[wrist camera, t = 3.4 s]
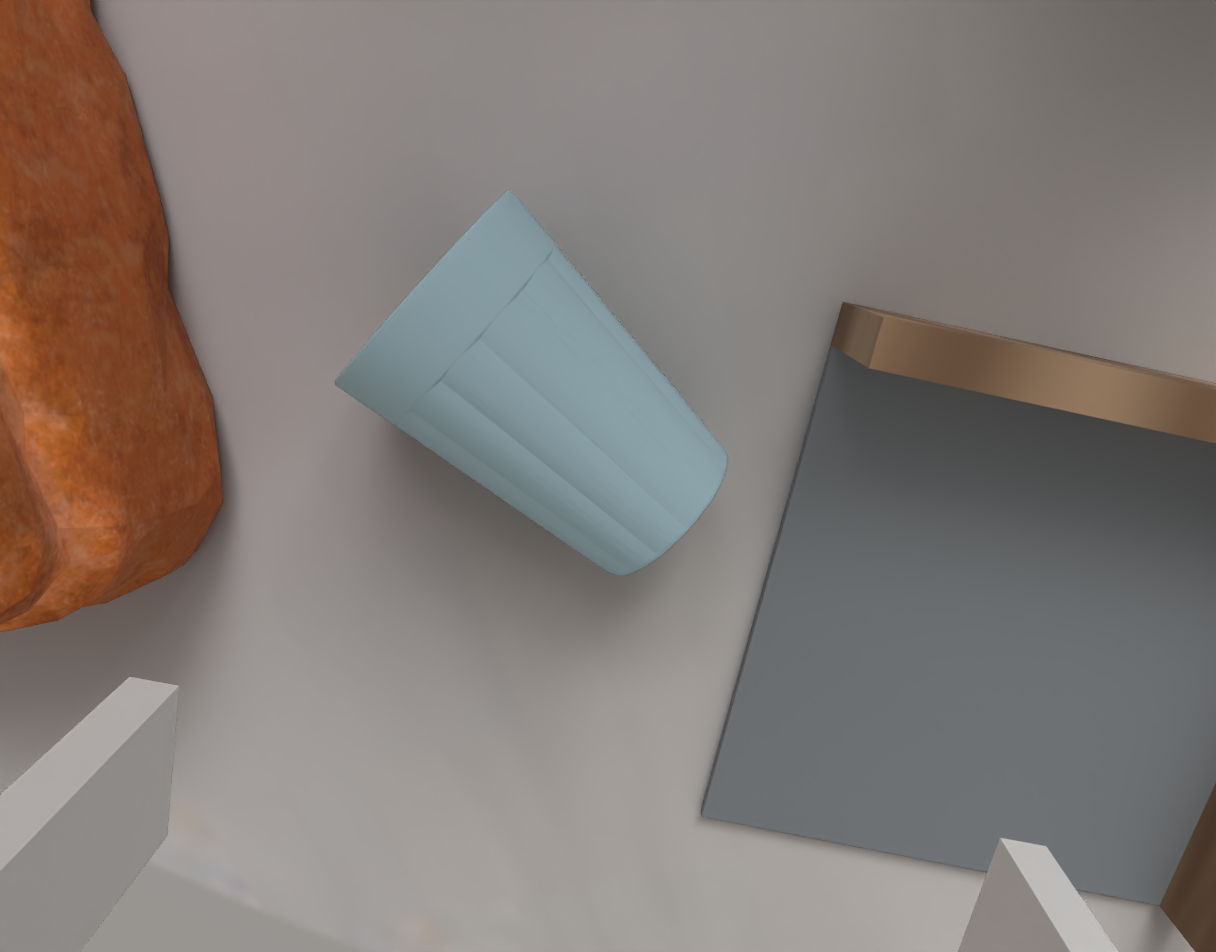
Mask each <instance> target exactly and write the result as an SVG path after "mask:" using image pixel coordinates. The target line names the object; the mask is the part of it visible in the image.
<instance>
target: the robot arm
mask: <svg viewBox="0 0 1216 952" xmlns="http://www.w3.org/2000/svg"><path fill="white" fill-rule="evenodd" d="M178 695H179V686H178V685H172V684H167V683H161V682H156V681H151V680H145V679H140V678H134V677H129V678H128V679H126V680H125V681H124V682H123V683H122V684H121V685H120V686H119V687H118V688H117V689H116V690H114V691H113V692H112V693H111V694H110V695H109V696H108V697H107V698H106V699H105V700H103V701H102V702H101V703H100V704H99V705H98V706H97V707H96V708H95V709H94V710H93V711H91V712H90V713H89V714H88V715H87V716H86V717H85V718H84V719H83V720H82V721H80V722H79V723H78V724H77V725H76V726H75V727H74V728H73V729H72V730H71V731H69V732H68V733H67V734H66V735H65V736H64V737H63V738H62V739H61V740H60V741H59V742H57V743H56V744H55V745H54V746H53V747H52V748H51V749H50V750H49V751H48V752H46V753H45V754H44V755H43V756H42V757H41V758H40V759H39V760H38V761H37V762H36V763H34V764H33V765H32V766H31V767H30V768H29V769H28V770H27V771H26V772H25V773H23V774H22V775H21V776H20V777H19V778H18V779H17V780H16V781H15V782H14V783H12V784H11V785H10V786H9V787H8V788H7V789H6V790H5V791H4V792H3V793H2V794H0V952H81V950H82V949H83V948H84V946H85V945H86V943H87V942H88V941H89V940H90V938H91V937H92V936H93V934H94V933H95V932H96V930H97V929H98V928H99V926H100V925H101V924H102V922H103V921H104V919H105V918H106V917H107V916H108V914H109V913H110V912H111V910H112V909H113V908H114V906H115V905H116V904H117V902H118V901H119V900H120V898H121V897H122V896H123V894H124V893H125V892H126V890H127V889H128V888H129V886H130V885H131V884H132V882H133V881H134V880H135V878H136V877H137V876H138V874H139V873H140V871H141V870H142V869H143V868H144V866H145V865H146V864H147V862H148V861H149V860H150V858H151V857H152V856H153V854H154V853H155V852H156V850H157V849H158V848H159V846H160V845H161V844H162V842H163V841H164V840H165V838H166V837H167V833H168V821H169V808H170V795H171V783H172V770H173V758H174V745H175V733H176V720H177V708H178ZM958 952H1118V951H1117V949H1116V948H1115V946H1114V945H1113V944H1112V942H1111V941H1110V939H1109V938H1108V936H1107V935H1106V933H1105V932H1104V930H1103V929H1102V927H1101V926H1100V924H1099V923H1098V921H1097V920H1096V919H1095V917H1094V916H1093V914H1092V913H1091V911H1090V910H1089V908H1088V907H1087V905H1086V904H1085V902H1084V901H1083V899H1082V898H1081V896H1080V895H1079V894H1078V892H1077V891H1076V889H1075V888H1074V886H1073V885H1072V883H1071V882H1070V880H1069V879H1068V877H1067V876H1066V874H1065V873H1064V872H1063V870H1062V869H1061V867H1060V866H1059V864H1058V863H1057V861H1056V860H1055V858H1054V857H1053V855H1052V854H1051V852H1050V851H1049V849H1048V848H1047V847H1046V846H1042V845H1037V844H1031V843H1026V842H1021V841H1015V840H1010V839H1004V838H1000V839H999V842H998V845H997V847H996V850H995V853H994V855H993V858H992V861H991V864H990V866H989V869H988V872H987V874H986V877H985V880H984V883H983V885H982V888H981V891H980V893H979V896H978V899H977V901H976V904H975V907H974V910H973V912H972V915H971V918H970V920H969V923H968V926H967V928H966V931H965V934H964V937H963V939H962V942H961V945H960V947H959V950H958Z"/></svg>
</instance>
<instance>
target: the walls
mask: <svg viewBox="0 0 1216 952" xmlns="http://www.w3.org/2000/svg"><path fill="white" fill-rule="evenodd" d="M831 346H833V347H835V348H836V349H838V350H840V351H841V352H843V353H845V354H846V355H848V356H849V357H851V358H853V359H854V360H856V361H858V362H859V363H861V364H863V365H864V366H866V367H868V368H870V369H875V370H879V371H884V372H888V373H893V374H898V375H902V376H907V377H912V378H916V379H921V380H925V381H930V382H935V383H939V384H944V385H949V386H953V387H958V388H962V389H967V390H972V391H976V392H981V393H986V394H990V395H995V396H999V397H1004V398H1009V399H1013V400H1018V401H1022V402H1027V403H1032V404H1036V405H1041V406H1046V407H1050V408H1055V409H1059V410H1064V411H1069V412H1073V413H1078V414H1083V415H1087V416H1092V417H1096V418H1101V419H1106V420H1110V421H1115V422H1120V423H1124V424H1129V425H1133V426H1138V427H1143V428H1147V429H1152V430H1156V431H1161V432H1166V433H1170V434H1175V435H1180V436H1184V437H1189V438H1193V439H1198V440H1203V441H1207V442H1212V443H1216V384H1215V383H1211V382H1206V381H1202V380H1197V379H1193V378H1188V377H1183V376H1179V375H1174V374H1170V373H1165V372H1161V371H1156V370H1152V369H1147V368H1142V367H1138V366H1133V365H1129V364H1124V363H1120V362H1115V361H1110V360H1106V359H1101V358H1097V357H1092V356H1088V355H1083V354H1079V353H1074V352H1069V351H1065V350H1060V349H1056V348H1051V347H1047V346H1042V345H1037V344H1033V343H1028V342H1024V341H1019V340H1015V339H1010V338H1006V337H1001V336H996V335H992V334H987V333H983V332H978V331H974V330H969V329H964V328H960V327H955V326H951V325H946V324H942V323H937V322H933V321H928V320H923V319H919V318H914V317H910V316H905V315H901V314H896V313H891V312H887V311H882V310H878V309H873V308H869V307H864V306H860V305H855V304H850V303H846V302H843V304H842V308H841V311H840V315H839V318H838V322H837V326H836V329H835V333H834V336H833V340H832V344H831ZM1160 907H1161V908H1162V909H1163V911H1164V912H1165V913H1166V915H1167V916H1168V917H1169V918H1170V920H1171V921H1172V922H1173V924H1174V925H1175V926H1176V927H1177V929H1178V930H1179V931H1180V933H1181V934H1182V935H1183V936H1184V938H1185V939H1186V940H1187V942H1188V943H1189V944H1190V945H1191V947H1192V948H1193V949H1194V950H1195V952H1216V783H1215V786H1214V788H1213V790H1212V792H1211V794H1210V797H1209V799H1208V801H1207V803H1206V805H1205V807H1204V810H1203V812H1202V814H1201V816H1200V818H1199V821H1198V823H1197V825H1196V827H1195V829H1194V831H1193V834H1192V836H1191V838H1190V840H1189V842H1188V845H1187V847H1186V849H1185V851H1184V853H1183V855H1182V858H1181V860H1180V862H1179V864H1178V866H1177V869H1176V871H1175V873H1174V875H1173V877H1172V880H1171V882H1170V884H1169V886H1168V888H1167V890H1166V893H1165V895H1164V897H1163V899H1162V901H1161V904H1160Z"/></svg>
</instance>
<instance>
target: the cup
mask: <svg viewBox="0 0 1216 952" xmlns="http://www.w3.org/2000/svg"><path fill="white" fill-rule="evenodd" d="M335 385H337V386H338V387H339V388H341V389H342V390H344V391H345V392H346V393H348V394H349V395H351V396H352V397H354V398H355V399H357V400H358V401H360V402H361V403H362V404H364V405H365V406H367V407H368V408H370V409H371V410H373V411H374V412H376V413H377V414H378V415H380V416H381V417H383V418H384V419H386V420H387V421H389V422H390V423H392V424H394V425H395V426H397V427H398V428H400V429H401V430H403V431H404V432H405V433H407V434H408V435H410V436H411V437H413V438H414V439H416V440H417V441H418V442H420V443H421V444H423V445H424V446H426V447H427V448H429V449H430V450H431V451H433V452H434V453H436V454H437V455H439V456H440V457H442V458H443V459H444V460H446V461H447V462H449V463H450V464H452V465H453V466H455V467H456V468H458V469H459V470H460V471H462V472H463V473H465V474H466V475H468V476H469V477H471V478H472V479H473V480H475V481H476V482H478V483H479V484H481V485H482V486H484V487H485V488H486V489H488V490H489V491H491V492H492V493H494V494H495V495H497V496H498V497H500V498H501V499H502V500H504V501H505V502H507V503H508V504H510V505H511V506H513V507H514V508H515V509H517V510H518V511H520V512H521V513H523V514H524V515H526V516H527V517H528V518H530V519H531V520H533V521H534V522H536V523H537V524H539V525H540V526H541V527H543V528H544V529H546V530H547V531H549V532H550V533H552V534H553V535H555V536H556V537H557V538H559V539H560V540H562V541H563V542H565V543H566V544H568V545H569V546H570V547H572V548H573V549H575V550H576V551H578V552H579V553H581V554H582V555H584V556H585V557H586V558H588V559H589V560H591V561H592V562H594V563H595V564H597V565H598V566H600V567H601V568H603V569H604V570H606V571H608V572H609V573H612V574H615V575H619V576H621V575H627V574H630V573H633V572H635V571H637V570H639V569H641V568H643V567H645V566H647V565H648V564H650V563H651V562H653V561H654V560H656V559H657V558H659V557H660V556H661V555H662V554H664V553H665V552H666V551H667V550H668V549H669V548H670V547H672V546H673V545H674V544H675V543H676V542H677V541H678V540H679V539H680V538H681V537H682V536H683V535H684V534H685V533H686V532H687V531H688V530H689V529H690V528H691V526H692V525H693V524H694V523H695V522H696V520H697V519H698V518H699V517H700V516H701V514H702V513H703V512H704V510H705V509H706V508H707V506H708V505H709V504H710V502H711V501H712V499H713V497H714V496H715V494H716V493H717V491H718V489H719V487H720V485H721V483H722V481H723V478H724V475H725V472H726V469H727V463H728V455H727V453H726V451H725V450H724V448H723V447H722V445H721V444H720V443H719V442H718V440H717V439H716V438H715V437H714V436H713V434H712V433H711V432H710V431H709V429H708V428H707V427H706V426H705V425H704V423H703V422H702V421H701V420H700V418H699V417H698V416H697V415H696V414H695V412H694V411H693V410H692V409H691V407H690V406H689V405H688V404H687V403H686V401H685V400H684V399H683V398H682V397H681V395H680V394H679V393H678V392H677V391H676V389H675V388H674V387H673V386H672V385H671V383H670V382H669V381H668V380H667V379H666V377H665V376H664V375H663V374H662V373H661V371H660V370H659V369H658V368H657V367H656V365H655V364H654V363H653V362H652V361H651V359H650V358H649V357H648V356H647V355H646V353H645V352H644V351H643V350H642V349H641V347H640V346H639V345H638V344H637V343H636V341H635V340H634V339H633V338H632V337H631V335H630V334H629V333H628V332H627V331H626V329H625V328H624V327H623V326H622V325H621V323H620V322H619V321H618V320H617V319H616V317H615V316H614V315H613V314H612V313H611V311H610V310H609V309H608V308H607V307H606V305H605V304H604V303H603V302H602V300H601V299H600V298H599V297H598V296H597V294H596V293H595V292H594V291H593V290H592V288H591V287H590V286H589V285H588V284H587V282H586V281H585V280H584V279H583V278H582V276H581V275H580V274H579V273H578V272H577V270H576V269H575V268H574V267H573V266H572V264H571V263H570V262H569V261H568V260H567V258H566V257H565V256H564V255H563V254H562V252H561V251H560V250H559V249H558V248H557V246H556V244H555V242H554V241H553V240H552V238H551V237H550V236H549V235H548V233H547V232H546V231H545V230H544V229H543V227H542V226H541V225H540V224H539V223H538V221H537V220H536V219H535V218H534V217H533V215H532V214H531V213H530V212H529V210H528V209H527V208H526V207H525V206H524V204H523V203H522V202H521V201H520V200H519V198H518V197H517V196H516V195H515V194H514V192H513V191H511V190H508V191H506V192H505V193H504V194H503V195H502V196H501V197H500V198H498V199H497V200H496V201H495V202H494V203H493V204H492V205H491V206H490V207H489V208H488V209H487V210H486V212H485V213H484V214H483V215H482V216H481V217H480V218H479V219H478V220H477V221H476V222H475V223H474V224H473V225H472V226H471V227H470V228H469V229H468V230H467V231H466V232H465V234H464V235H463V236H462V237H461V238H460V239H459V240H458V241H457V242H456V243H455V244H454V245H453V246H452V247H451V249H450V250H449V251H448V252H447V253H446V254H445V255H444V256H443V257H442V258H441V259H440V260H439V261H438V263H437V264H436V265H435V266H434V267H433V268H432V269H431V270H430V271H429V272H428V274H427V275H426V276H425V277H424V278H423V279H422V280H421V281H420V282H419V283H418V285H417V286H416V287H415V288H414V289H413V290H412V291H411V292H410V293H409V294H408V296H407V297H406V298H405V299H404V300H403V301H402V302H401V303H400V305H399V306H398V307H397V308H396V309H395V310H394V311H393V312H392V314H391V315H390V316H389V317H388V318H387V319H386V320H385V321H384V323H383V324H382V325H381V326H380V327H379V328H378V329H377V331H376V332H375V333H374V334H373V335H372V336H371V337H370V339H369V340H368V341H367V342H366V343H365V344H364V345H363V347H362V348H361V349H360V350H359V351H358V352H357V354H356V355H355V356H354V357H353V358H352V360H351V361H350V362H349V363H348V364H347V366H346V367H345V368H344V369H343V371H342V372H341V373H340V374H339V376H338V377H337V379H336V380H335Z"/></svg>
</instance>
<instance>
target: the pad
mask: <svg viewBox="0 0 1216 952" xmlns="http://www.w3.org/2000/svg"><path fill="white" fill-rule="evenodd" d="M1215 783H1216V443H1212V442H1207V441H1203V440H1198V439H1193V438H1189V437H1184V436H1180V435H1175V434H1170V433H1166V432H1161V431H1156V430H1152V429H1147V428H1143V427H1138V426H1133V425H1129V424H1124V423H1120V422H1115V421H1110V420H1106V419H1101V418H1096V417H1092V416H1087V415H1083V414H1078V413H1073V412H1069V411H1064V410H1059V409H1055V408H1050V407H1046V406H1041V405H1036V404H1032V403H1027V402H1022V401H1018V400H1013V399H1009V398H1004V397H999V396H995V395H990V394H986V393H981V392H976V391H972V390H967V389H962V388H958V387H953V386H949V385H944V384H939V383H935V382H930V381H925V380H921V379H916V378H912V377H907V376H902V375H898V374H893V373H888V372H884V371H879V370H875V369H870V368H868V367H866V366H864V365H863V364H861V363H859V362H858V361H856V360H854V359H853V358H851V357H849V356H848V355H846V354H845V353H843V352H841V351H840V350H838V349H836V348H835V347H833V346H831V347H830V351H829V354H828V358H827V361H826V365H825V369H824V372H823V376H822V379H821V383H820V386H819V390H818V394H817V397H816V401H815V404H814V408H813V411H812V415H811V419H810V422H809V426H808V429H807V433H806V436H805V440H804V444H803V447H802V451H801V454H800V458H799V461H798V465H797V469H796V472H795V476H794V479H793V483H792V486H791V490H790V494H789V497H788V501H787V504H786V508H785V511H784V515H783V519H782V522H781V526H780V529H779V533H778V536H777V540H776V544H775V547H774V551H773V554H772V558H771V561H770V565H769V569H768V572H767V576H766V579H765V583H764V587H763V590H762V594H761V597H760V601H759V604H758V608H757V612H756V615H755V619H754V622H753V626H752V629H751V633H750V637H749V640H748V644H747V647H746V651H745V654H744V658H743V662H742V665H741V669H740V672H739V676H738V679H737V683H736V687H735V690H734V694H733V697H732V701H731V704H730V708H729V712H728V715H727V719H726V722H725V726H724V729H723V733H722V737H721V740H720V744H719V747H718V751H717V754H716V758H715V762H714V765H713V769H712V772H711V776H710V779H709V783H708V787H707V790H706V794H705V797H704V801H703V805H702V808H701V815H702V817H707V818H712V819H717V820H722V821H727V822H732V823H738V824H743V825H748V826H753V827H758V828H763V829H768V830H774V831H779V832H784V833H789V834H794V835H799V836H804V837H810V838H815V839H820V840H825V841H830V842H835V843H840V844H845V845H851V846H856V847H861V848H866V849H871V850H876V851H881V852H887V853H892V854H897V855H902V856H907V857H912V858H917V859H923V860H928V861H933V862H938V863H943V864H948V865H953V866H959V867H964V868H969V869H974V870H979V871H984V872H988V869H989V866H990V864H991V861H992V858H993V855H994V853H995V850H996V847H997V845H998V842H999V839H1000V838H1004V839H1010V840H1015V841H1021V842H1026V843H1031V844H1037V845H1042V846H1046V847H1047V848H1048V849H1049V851H1050V852H1051V854H1052V855H1053V857H1054V858H1055V860H1056V861H1057V863H1058V864H1059V866H1060V867H1061V869H1062V870H1063V872H1064V873H1065V874H1066V876H1067V877H1068V879H1069V880H1070V882H1071V883H1072V885H1073V886H1074V888H1075V889H1077V890H1082V891H1087V892H1092V893H1097V894H1102V895H1107V896H1113V897H1118V898H1123V899H1128V900H1133V901H1138V902H1143V903H1149V904H1154V905H1159V906H1160V904H1161V901H1162V899H1163V897H1164V895H1165V893H1166V890H1167V888H1168V886H1169V884H1170V882H1171V880H1172V877H1173V875H1174V873H1175V871H1176V869H1177V866H1178V864H1179V862H1180V860H1181V858H1182V855H1183V853H1184V851H1185V849H1186V847H1187V845H1188V842H1189V840H1190V838H1191V836H1192V834H1193V831H1194V829H1195V827H1196V825H1197V823H1198V821H1199V818H1200V816H1201V814H1202V812H1203V810H1204V807H1205V805H1206V803H1207V801H1208V799H1209V797H1210V794H1211V792H1212V790H1213V788H1214V786H1215Z"/></svg>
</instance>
